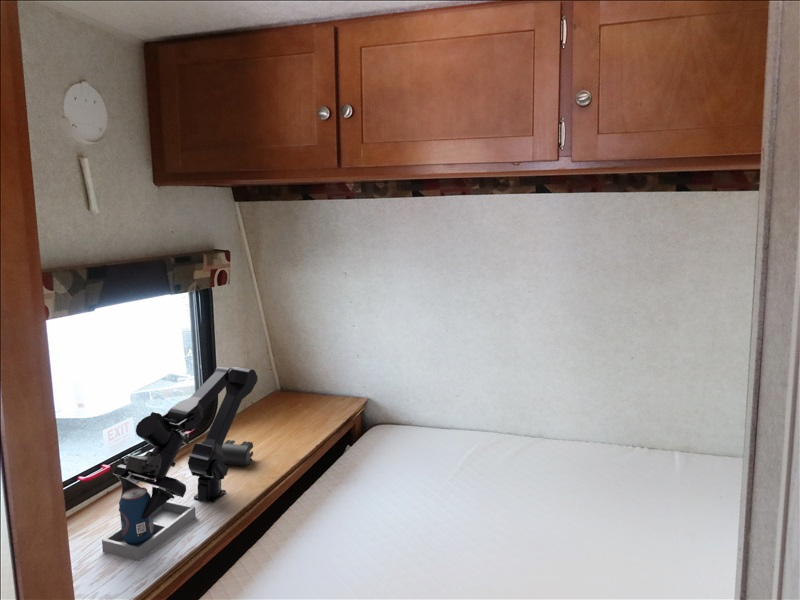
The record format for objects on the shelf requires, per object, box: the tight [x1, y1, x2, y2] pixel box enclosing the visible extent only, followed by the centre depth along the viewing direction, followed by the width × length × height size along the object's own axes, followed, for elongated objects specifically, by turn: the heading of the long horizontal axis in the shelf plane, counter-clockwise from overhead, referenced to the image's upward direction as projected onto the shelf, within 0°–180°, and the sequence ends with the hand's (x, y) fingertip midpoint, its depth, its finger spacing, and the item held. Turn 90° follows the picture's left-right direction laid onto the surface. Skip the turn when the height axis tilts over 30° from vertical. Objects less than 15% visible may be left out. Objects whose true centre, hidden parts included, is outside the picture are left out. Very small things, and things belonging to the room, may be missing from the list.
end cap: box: [222, 439, 254, 467], centre depth 185 cm, size 10×7×7 cm
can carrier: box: [101, 500, 197, 562], centre depth 146 cm, size 20×11×3 cm, turn 162°
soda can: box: [118, 486, 154, 546], centre depth 140 cm, size 7×7×12 cm
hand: (131, 515), depth 139 cm, fingers closed on soda can, 7 cm apart
